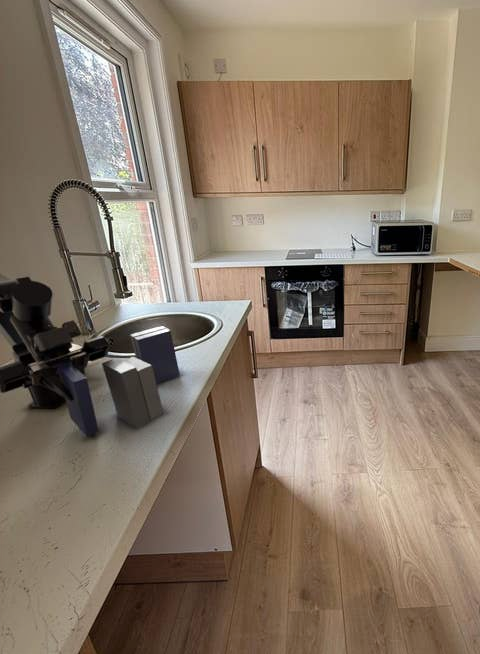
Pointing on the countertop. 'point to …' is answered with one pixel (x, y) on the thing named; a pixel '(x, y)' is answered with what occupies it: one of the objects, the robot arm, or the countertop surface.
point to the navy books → (157, 352)
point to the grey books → (133, 390)
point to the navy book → (78, 398)
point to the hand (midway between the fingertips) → (79, 397)
